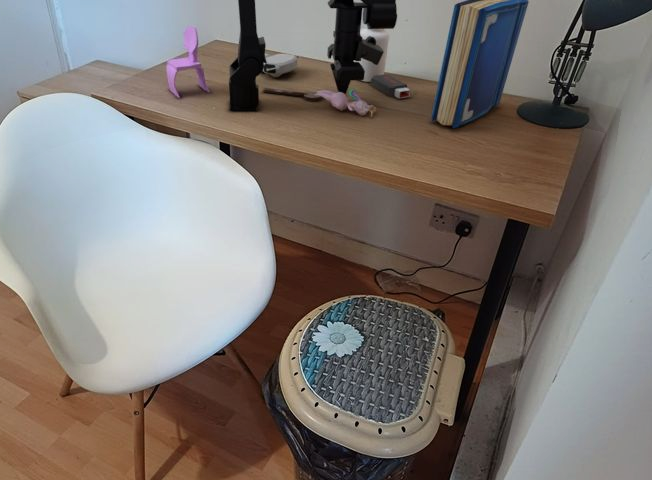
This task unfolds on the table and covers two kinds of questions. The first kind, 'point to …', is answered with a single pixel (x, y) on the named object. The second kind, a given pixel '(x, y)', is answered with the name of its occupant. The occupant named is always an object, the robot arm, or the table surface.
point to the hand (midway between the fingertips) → (342, 97)
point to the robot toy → (280, 64)
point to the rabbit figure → (346, 101)
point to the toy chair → (186, 61)
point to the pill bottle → (382, 41)
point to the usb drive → (390, 86)
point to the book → (477, 59)
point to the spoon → (295, 94)
